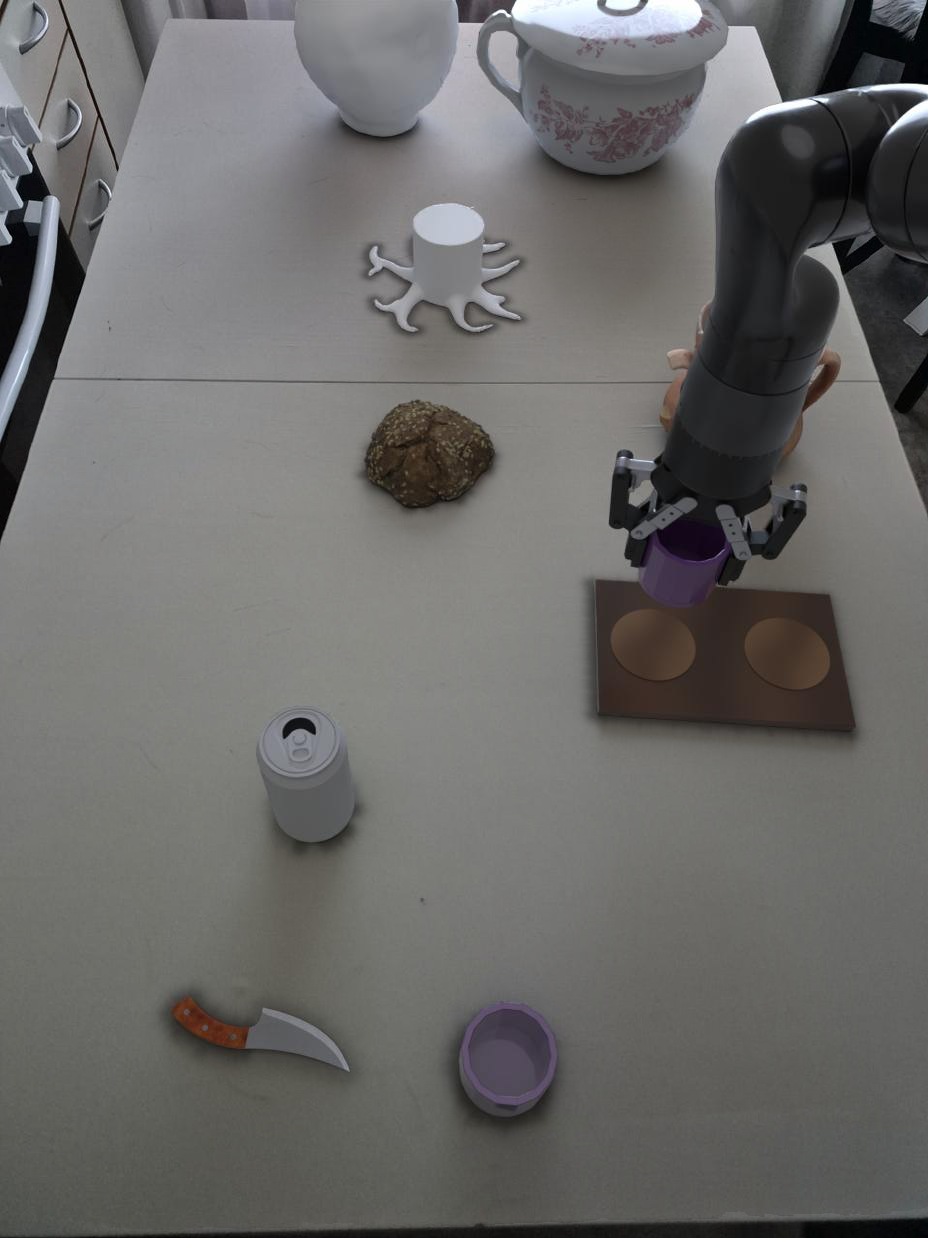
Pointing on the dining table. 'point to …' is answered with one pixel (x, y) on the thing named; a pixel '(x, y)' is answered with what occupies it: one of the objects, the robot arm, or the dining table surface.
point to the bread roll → (427, 453)
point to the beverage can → (306, 772)
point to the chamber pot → (607, 75)
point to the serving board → (721, 658)
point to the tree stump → (446, 265)
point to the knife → (262, 1033)
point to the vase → (377, 57)
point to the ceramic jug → (815, 391)
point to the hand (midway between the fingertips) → (679, 567)
